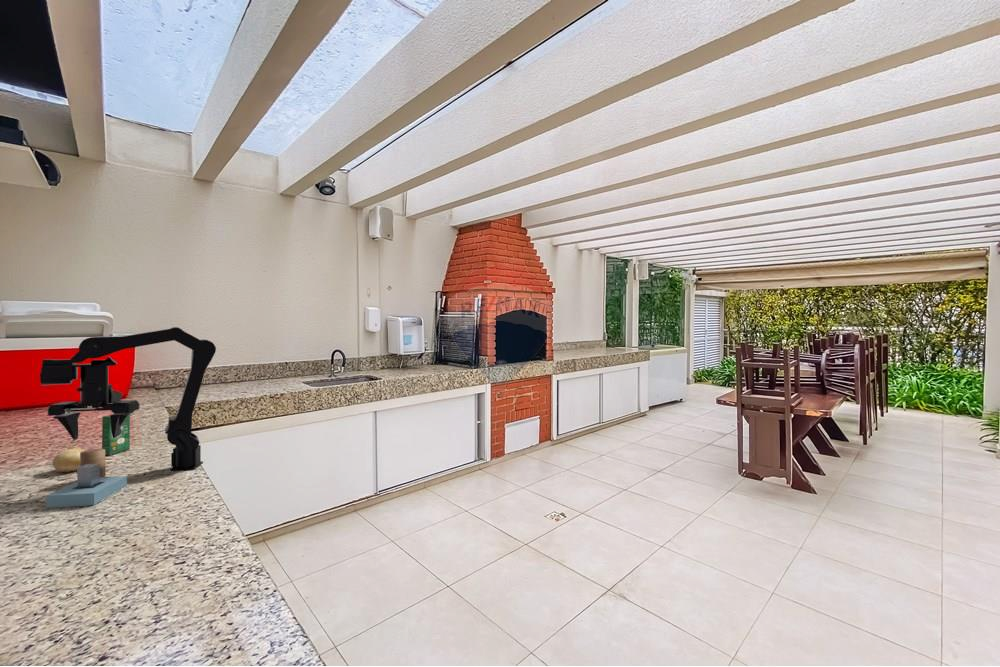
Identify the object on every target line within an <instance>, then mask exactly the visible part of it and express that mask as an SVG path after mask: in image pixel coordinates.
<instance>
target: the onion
mask: <svg viewBox="0 0 1000 667" xmlns="http://www.w3.org/2000/svg"><path fill="white" fill-rule="evenodd" d="M67 447H68V449H66V450H65V449H64V450H62V451H60V452H58V454H56V455H55V456H54V458H53V459H52V466H53V468H54V469H55V470H56V471H57V472H59V473H60V472H62V473H63V472H67V473H71V472H70V471H74V472H77V471H76V470H77V468H78V467H80V453H81V452H83V451H85V449H82V448H79V446H77V445H75V446H74V445H72V446H70V445H68V446H67Z"/></svg>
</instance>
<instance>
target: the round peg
mask: <svg viewBox="0 0 1000 667" xmlns="http://www.w3.org/2000/svg"><path fill="white" fill-rule="evenodd" d="M86 464H100V477H107V475H106V469H107V468H106V456H105V449H102V448H94V449H92V448H91V449H87V450H84V451H83V452H81V453H80V467H81V466H83V465H86Z"/></svg>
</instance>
